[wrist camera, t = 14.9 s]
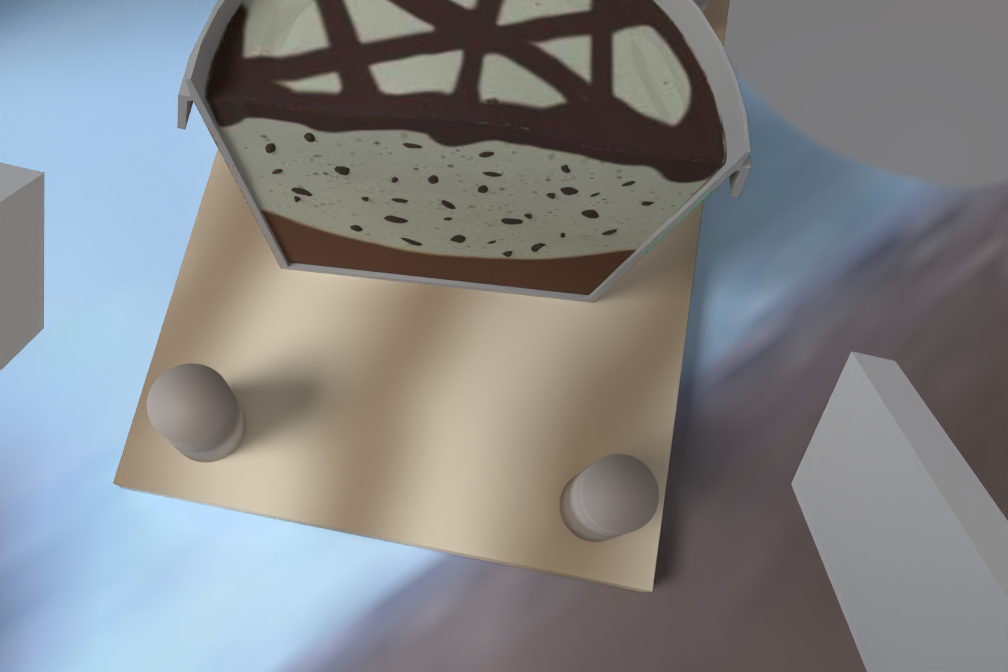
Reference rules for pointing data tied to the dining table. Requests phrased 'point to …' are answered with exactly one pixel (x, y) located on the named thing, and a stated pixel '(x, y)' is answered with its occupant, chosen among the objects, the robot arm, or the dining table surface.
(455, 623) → the dining table surface
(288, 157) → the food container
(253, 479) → the pin plate
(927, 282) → the dining table surface
